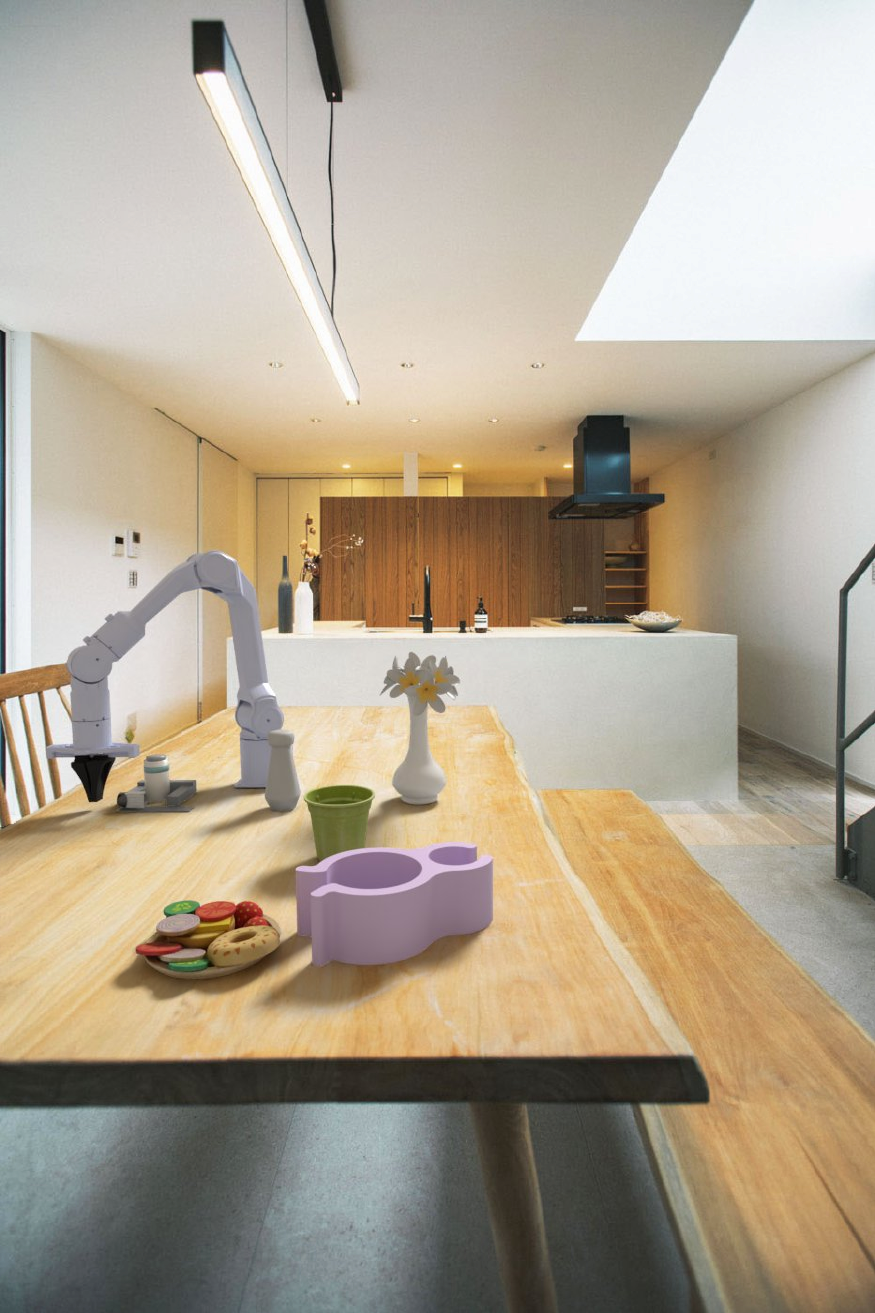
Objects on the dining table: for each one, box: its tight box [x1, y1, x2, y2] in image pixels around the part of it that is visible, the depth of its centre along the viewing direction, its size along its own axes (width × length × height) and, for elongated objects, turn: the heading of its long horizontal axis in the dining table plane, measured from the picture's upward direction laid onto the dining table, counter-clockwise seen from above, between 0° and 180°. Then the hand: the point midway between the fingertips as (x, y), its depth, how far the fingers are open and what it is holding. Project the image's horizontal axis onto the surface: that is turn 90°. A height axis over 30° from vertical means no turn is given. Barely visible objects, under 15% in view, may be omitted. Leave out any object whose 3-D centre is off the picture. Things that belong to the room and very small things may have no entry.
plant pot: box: [303, 784, 376, 863], centre depth 92 cm, size 9×9×9 cm
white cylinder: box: [143, 753, 171, 803], centre depth 120 cm, size 4×4×8 cm
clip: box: [295, 841, 494, 967], centre depth 72 cm, size 20×12×7 cm, turn 114°
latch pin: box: [116, 791, 148, 808], centre depth 114 cm, size 4×2×2 cm, turn 89°
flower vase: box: [379, 651, 461, 806], centre depth 117 cm, size 13×18×25 cm
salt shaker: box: [264, 728, 302, 813], centre depth 114 cm, size 6×6×13 cm
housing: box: [115, 779, 197, 813], centre depth 118 cm, size 13×12×2 cm
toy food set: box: [135, 899, 282, 980], centre depth 68 cm, size 13×13×3 cm
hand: (95, 800), depth 114 cm, fingers closed
